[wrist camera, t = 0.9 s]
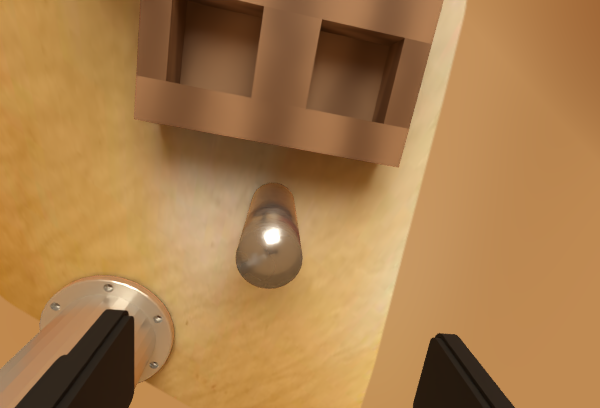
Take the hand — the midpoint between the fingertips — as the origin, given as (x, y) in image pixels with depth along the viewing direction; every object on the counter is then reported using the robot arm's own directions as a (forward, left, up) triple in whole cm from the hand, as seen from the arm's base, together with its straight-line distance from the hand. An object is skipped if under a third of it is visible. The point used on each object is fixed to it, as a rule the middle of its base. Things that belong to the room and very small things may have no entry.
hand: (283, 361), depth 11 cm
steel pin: (-1, +1, -22) cm, 22 cm away
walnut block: (+11, +2, -22) cm, 24 cm away
